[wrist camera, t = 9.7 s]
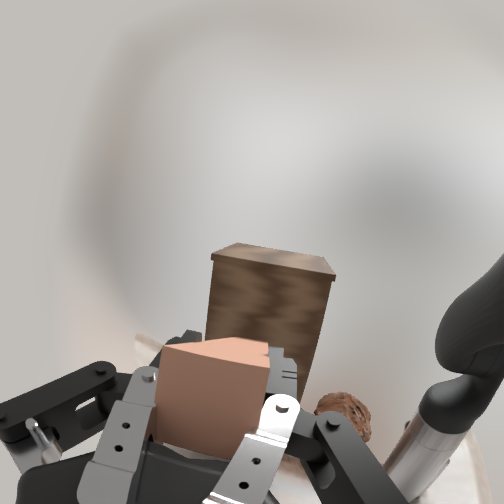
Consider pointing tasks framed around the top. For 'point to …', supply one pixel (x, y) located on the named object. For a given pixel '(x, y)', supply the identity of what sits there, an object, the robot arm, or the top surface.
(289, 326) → the stand
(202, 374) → the tan wooden bar
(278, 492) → the top surface
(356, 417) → the decorative rock
